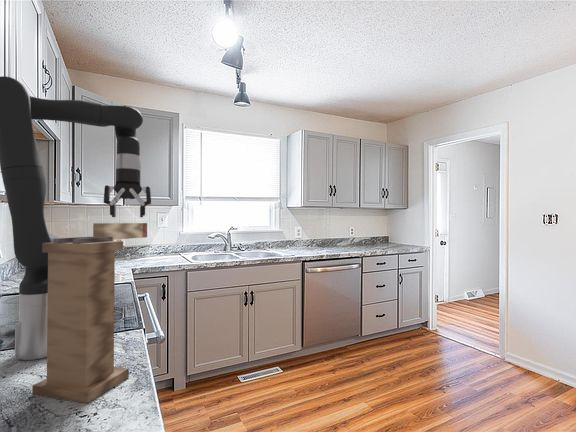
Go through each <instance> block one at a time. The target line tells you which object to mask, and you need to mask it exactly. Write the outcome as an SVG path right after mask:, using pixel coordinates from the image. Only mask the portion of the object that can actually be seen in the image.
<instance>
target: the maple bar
mask: <svg viewBox="0 0 576 432" xmlns="http://www.w3.org/2000/svg"><path fill="white" fill-rule="evenodd" d="M92 225H93V226H92V237H93V238H96V237H113V241H117V240H127V239H128V240H129V239H130V240H131V239H141V238H148V223H147V222H113V223H111V222H108V223H107V222H105V223H104V222H103V223H102V222H100V223H96V222H94V223H92Z"/></svg>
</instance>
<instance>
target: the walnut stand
mask: <svg viewBox="0 0 576 432" xmlns="http://www.w3.org/2000/svg"><path fill="white" fill-rule="evenodd" d="M123 250H124V241H123V240H120V241H119V240H113V237H96V238H93V236H80V237H79V236H78V237H77V236H76V237H75V236H74V237H58V238H55V239H53V242H51V243H42V252H46V253H48V311H47V357H46V379H43V380H40V381H39V382H37V383H34V384H32V396H36V397H44V398H50V399H56V400H57V399H58V400H64V401H71V402H77V403H83V404H89V403H91V402H92V401H93V400H95V399H97V398H98V397H100V396H101V395H103V394H104V393H106V392H107V391H109V390H111V389H113V388H114V387H115V386H118V385H119V384H121V383H122V382H123V381H125V380H126V379H127V378H129V377H130V375H129V374H130V373H129V372H130V371H129V370H130V369H129V368H128V367H122V366H121V367H118V366H115V282H116V281H115V280H116V279H115V277H116V276H115V274H116V273H115V271H116V270H115V269H116V268H115V267H116V263H115V260H116V254H115V253H116V251H123Z"/></svg>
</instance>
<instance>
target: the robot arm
mask: <svg viewBox="0 0 576 432" xmlns="http://www.w3.org/2000/svg"><path fill="white" fill-rule="evenodd" d="M32 120H41V121H43V120H44V121H54V122H55V121H57V122H67V123H75V124H82V125H88V126H95V127H101V128H102V127H103V128H106V127H111V126H112V127H114V133H115V138H116V159H115V185H113V186H112V185H111V186H110V185H105V186H104V191H103V193H104V194H103V204H105V205H109V215H110V216H111V217H112V218H116V215H117V214H116V213H117V212H116V211H117V209H116V208H117V206H116V205H117V203H119V201H120V200H121V199H123V200H136V201H137V202H138V203H139V204H140V206H139V217H140V218H144V216H146V207H147V206H148V205H151V204H152V195H151V194H152V192H151V191H152V190H151V187H150V186H149V185H147V186H142V185H141V171H142V169H141V168H142V167H141V157H140V156H141V155H140V153H141V152H140V149H141V143H140V141H139V139H138V138H137V129H138V128H140V127H141V126H142V125H143V122H144V117H143V115H142V113H141V112H140V111H139V110H138V109H137V108H135V107H131V106H126V105H113V104H112V105H111V104H108V105H107V104H103V103H98V102H91V101H86V100H79V99H49V98H48V99H45V98H40V97H35V96H30V93H29V91H28V89H27V88H26V86H25V85H24V84H23V83H22V82H20V81H19V80H18V79H16V78H13V77H11V76H6V75H5V76H4V75H3V76H0V175H1V179H2V184H3V187H4V191H5V196H6V200H7V204H8V209H9V213H10V219H11V226H12V227H11V228H12V237H13V252H14V256H15V259H16V260H17V261H18V263H19V264H20V265H21V266H23V267H24V268H25V269H24V270H25V271H24V276H23V278H22V280H21V281H20V283H19V285H18V286H19V287H18V321H17V322H16V323H15V324H14V325H15V326H14V360H23V361H33V360H39V359H44V358H47V311H48V253H46V252H42V243H51V242H53V239H55V238H59V237H57V236H56V235H54V234H52V233H49V231H48V228H47V224H46V220H45V212H44V209H45V201H46V196H47V182H46V175H45V171H44V166H43V163H42V159H41V153H40V150H39V147H38V143H37V140H36V137H35V134H34V133H35V132H34V130H33V129H34V128H33V121H32ZM113 191H115V193H116V194H115V196H114V197H113V198H112V200H110V198H111V197H110V196H111V193H112V192H113ZM142 191H143V193H144V194H145V198H146V199H145V200H146V201H144V200H143V198H141V196H140V193H141V192H142Z"/></svg>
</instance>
